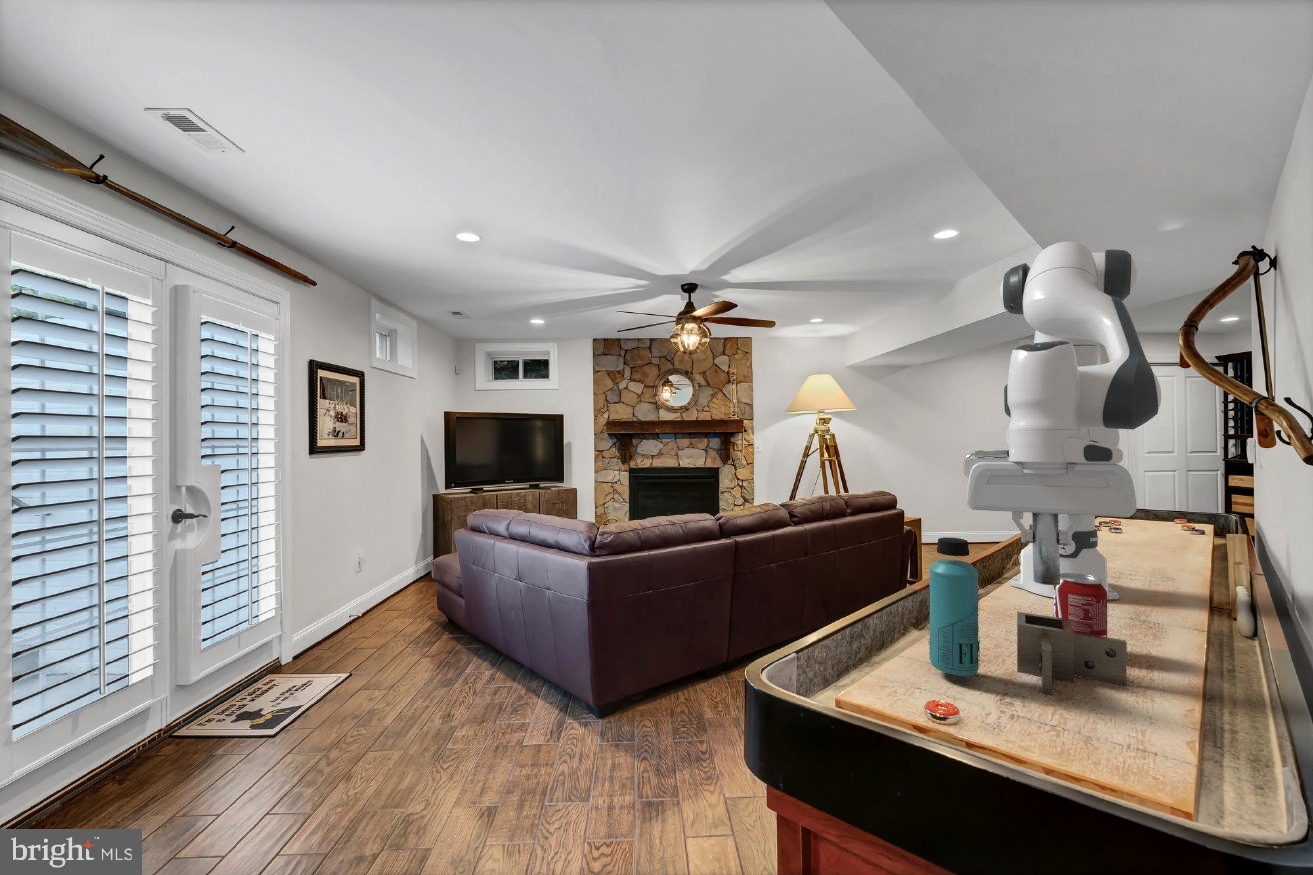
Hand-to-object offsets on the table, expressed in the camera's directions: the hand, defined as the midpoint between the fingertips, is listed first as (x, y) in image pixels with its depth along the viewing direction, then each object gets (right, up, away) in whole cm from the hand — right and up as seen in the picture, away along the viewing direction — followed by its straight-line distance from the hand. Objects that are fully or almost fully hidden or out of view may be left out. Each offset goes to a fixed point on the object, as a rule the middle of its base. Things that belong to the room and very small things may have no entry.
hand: (1045, 543), depth 80 cm
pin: (0, -6, 0) cm, 6 cm away
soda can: (+10, -19, +6) cm, 22 cm away
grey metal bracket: (+1, -19, -4) cm, 19 cm away
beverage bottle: (-15, -19, -2) cm, 24 cm away
